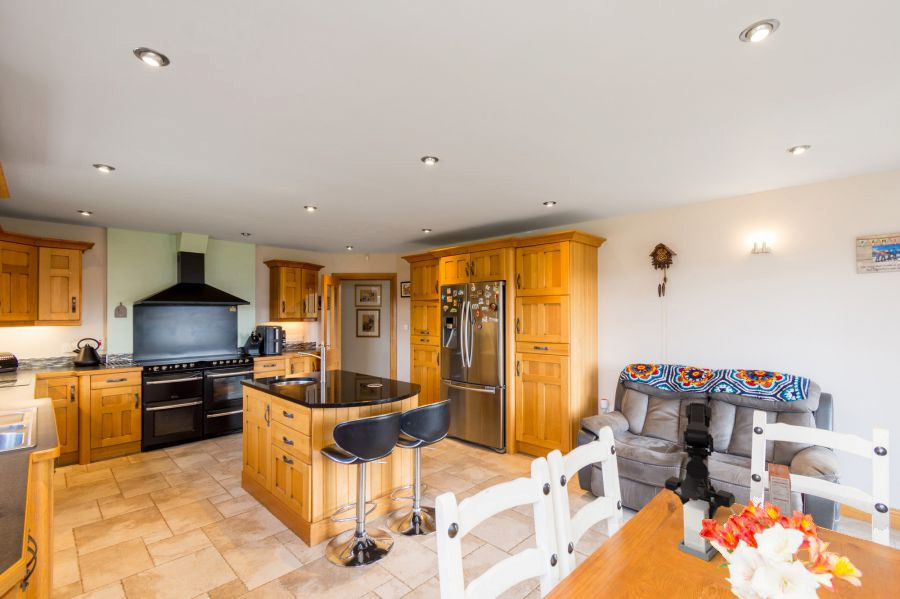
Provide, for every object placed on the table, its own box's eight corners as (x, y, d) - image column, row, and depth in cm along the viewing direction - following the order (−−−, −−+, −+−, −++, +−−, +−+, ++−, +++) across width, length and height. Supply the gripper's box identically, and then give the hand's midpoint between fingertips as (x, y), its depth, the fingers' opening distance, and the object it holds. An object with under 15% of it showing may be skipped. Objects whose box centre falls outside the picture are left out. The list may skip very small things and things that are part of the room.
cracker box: (769, 521, 153) (767, 461, 153) (790, 526, 149) (789, 465, 150) (770, 538, 141) (768, 474, 142) (793, 543, 138) (791, 478, 138)
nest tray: (691, 537, 142) (691, 531, 142) (721, 547, 136) (721, 542, 136) (677, 549, 135) (677, 543, 135) (708, 561, 128) (708, 555, 128)
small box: (694, 537, 140) (693, 497, 141) (715, 545, 135) (714, 503, 136) (683, 546, 135) (682, 504, 135) (705, 554, 130) (704, 511, 131)
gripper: (656, 466, 138) (657, 515, 137) (722, 484, 124) (723, 539, 123) (671, 458, 145) (672, 505, 145) (734, 474, 131) (736, 526, 130)
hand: (698, 518), depth 136 cm, fingers closed on small box, 6 cm apart
